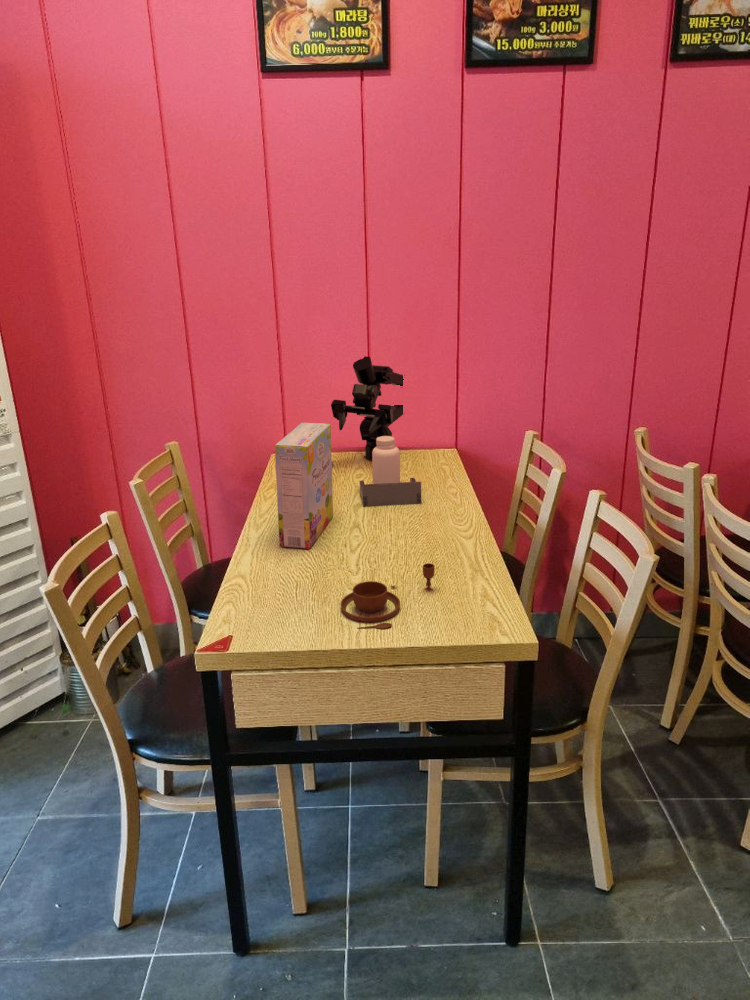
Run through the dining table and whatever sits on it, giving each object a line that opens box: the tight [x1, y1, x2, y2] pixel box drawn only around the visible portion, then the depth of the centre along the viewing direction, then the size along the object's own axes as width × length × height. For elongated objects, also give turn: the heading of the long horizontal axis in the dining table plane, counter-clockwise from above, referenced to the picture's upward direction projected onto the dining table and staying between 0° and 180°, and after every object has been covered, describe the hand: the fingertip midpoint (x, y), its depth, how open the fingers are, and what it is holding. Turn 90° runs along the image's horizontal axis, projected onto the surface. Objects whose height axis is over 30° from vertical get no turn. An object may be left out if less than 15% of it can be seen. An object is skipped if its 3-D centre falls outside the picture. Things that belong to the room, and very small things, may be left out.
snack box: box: [274, 422, 334, 550], centre depth 183 cm, size 22×9×26 cm, turn 168°
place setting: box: [340, 562, 435, 630], centre depth 149 cm, size 18×20×6 cm
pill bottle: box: [372, 435, 401, 484], centre depth 214 cm, size 8×8×15 cm
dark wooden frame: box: [359, 477, 422, 508], centre depth 208 cm, size 13×16×6 cm
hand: (354, 431), depth 222 cm, fingers open, 9 cm apart
